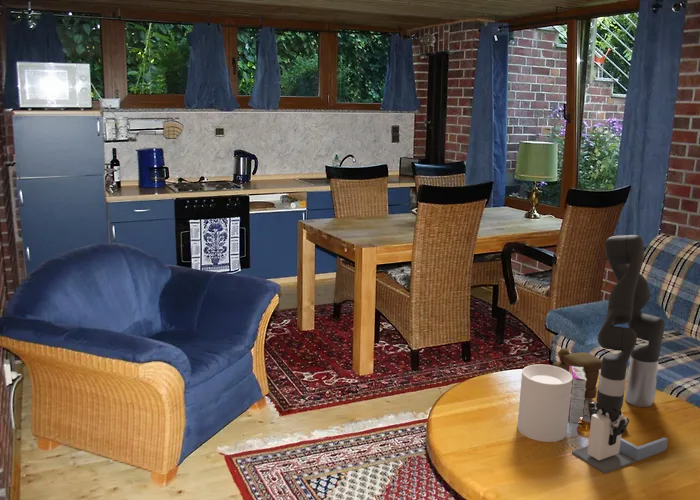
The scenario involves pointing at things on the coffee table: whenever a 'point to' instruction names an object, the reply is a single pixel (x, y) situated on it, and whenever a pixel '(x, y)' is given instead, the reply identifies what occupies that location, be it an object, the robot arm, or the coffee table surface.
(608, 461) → the rubber pad
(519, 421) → the canister
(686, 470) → the coffee table surface
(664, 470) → the coffee table surface
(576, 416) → the candy bar box
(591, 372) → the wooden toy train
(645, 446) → the frame
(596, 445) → the packed carton
